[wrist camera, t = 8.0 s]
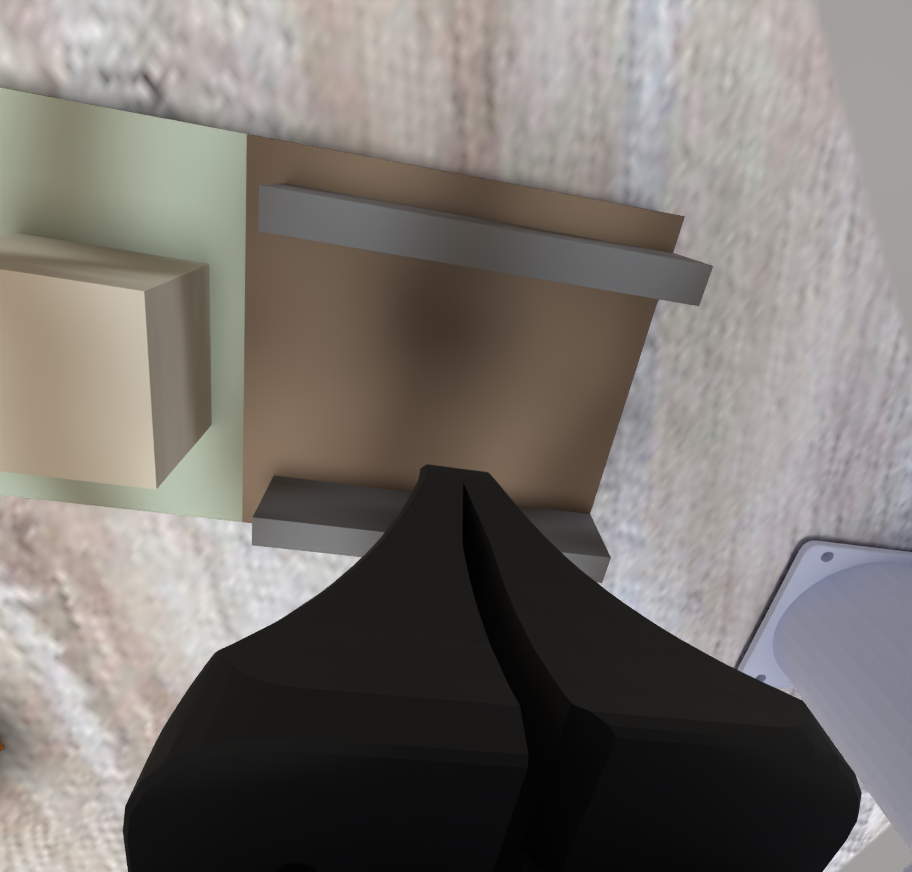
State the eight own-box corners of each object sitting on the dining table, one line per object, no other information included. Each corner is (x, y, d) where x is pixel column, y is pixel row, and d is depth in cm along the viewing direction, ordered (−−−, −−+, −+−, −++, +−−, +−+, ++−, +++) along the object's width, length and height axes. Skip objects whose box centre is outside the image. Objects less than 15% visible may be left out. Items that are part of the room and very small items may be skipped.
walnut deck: (657, 212, 18) (727, 223, 13) (563, 528, 22) (593, 606, 18) (-555, -17, 14) (-960, -95, 10) (-349, 420, 19) (-562, 488, 15)
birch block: (209, 263, 16) (144, 291, 12) (211, 424, 18) (156, 489, 14) (18, 232, 15) (-111, 251, 12) (43, 403, 17) (-59, 464, 14)
